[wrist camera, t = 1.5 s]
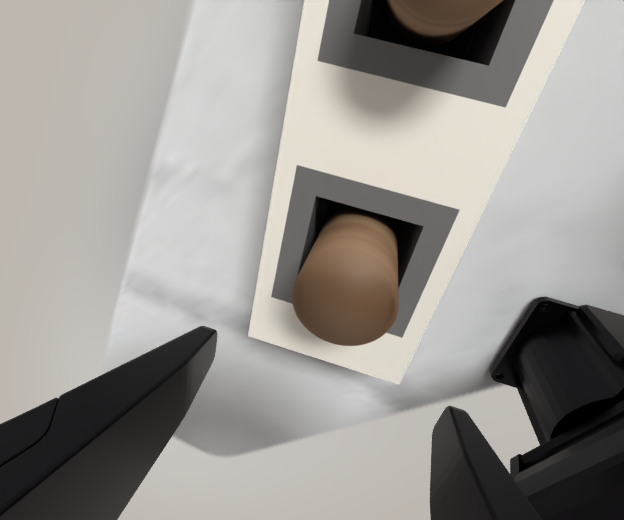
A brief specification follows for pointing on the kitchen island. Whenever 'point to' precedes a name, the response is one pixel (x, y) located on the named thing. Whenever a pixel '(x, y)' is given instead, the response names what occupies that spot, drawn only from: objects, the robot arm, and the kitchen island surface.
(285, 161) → the white peg holder block
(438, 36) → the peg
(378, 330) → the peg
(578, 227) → the kitchen island surface
